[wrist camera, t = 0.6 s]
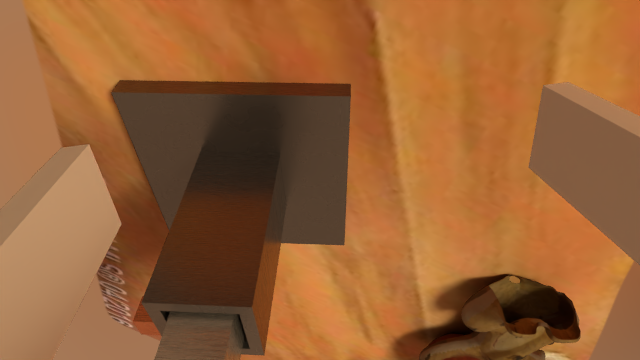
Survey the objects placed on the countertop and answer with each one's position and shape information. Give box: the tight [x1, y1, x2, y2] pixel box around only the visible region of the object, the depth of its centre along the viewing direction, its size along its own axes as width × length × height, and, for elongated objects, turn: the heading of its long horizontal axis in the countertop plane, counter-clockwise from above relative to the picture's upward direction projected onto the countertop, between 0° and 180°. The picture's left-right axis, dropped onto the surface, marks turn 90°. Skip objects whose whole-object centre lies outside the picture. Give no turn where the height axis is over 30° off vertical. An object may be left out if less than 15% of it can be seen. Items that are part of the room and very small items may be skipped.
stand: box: [111, 80, 351, 355], centre depth 30 cm, size 16×16×14 cm
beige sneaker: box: [419, 275, 580, 360], centre depth 46 cm, size 15×9×20 cm
